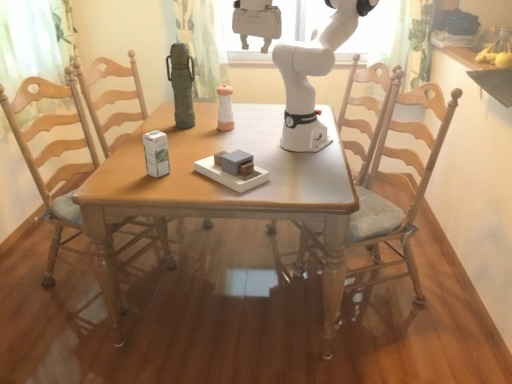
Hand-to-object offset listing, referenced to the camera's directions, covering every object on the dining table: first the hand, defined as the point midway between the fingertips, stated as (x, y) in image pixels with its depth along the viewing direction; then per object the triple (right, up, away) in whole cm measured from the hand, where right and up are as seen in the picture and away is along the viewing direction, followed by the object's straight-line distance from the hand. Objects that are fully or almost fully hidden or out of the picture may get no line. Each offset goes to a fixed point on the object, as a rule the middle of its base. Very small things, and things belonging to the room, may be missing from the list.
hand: (254, 51), depth 136 cm
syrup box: (-33, -39, +10) cm, 52 cm away
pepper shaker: (-13, -17, +51) cm, 56 cm away
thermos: (-31, -15, +54) cm, 64 cm away
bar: (-7, -37, +6) cm, 38 cm away
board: (-8, -39, +9) cm, 41 cm away
